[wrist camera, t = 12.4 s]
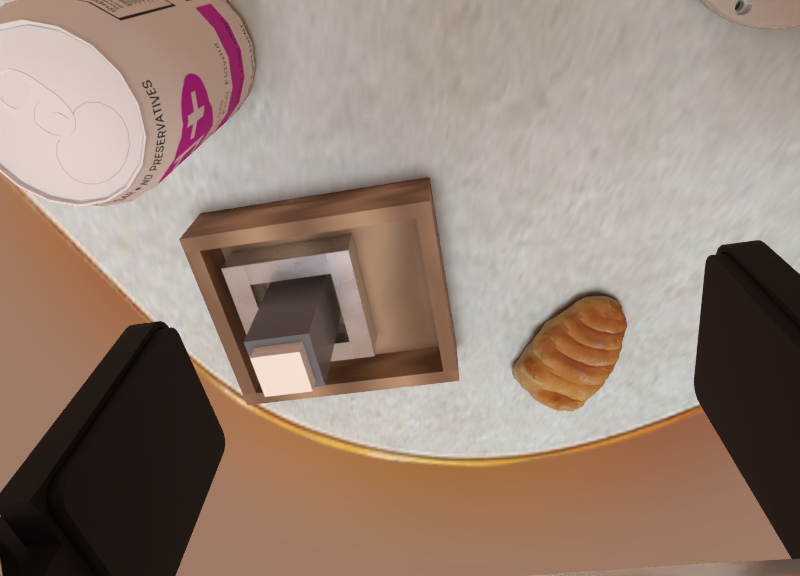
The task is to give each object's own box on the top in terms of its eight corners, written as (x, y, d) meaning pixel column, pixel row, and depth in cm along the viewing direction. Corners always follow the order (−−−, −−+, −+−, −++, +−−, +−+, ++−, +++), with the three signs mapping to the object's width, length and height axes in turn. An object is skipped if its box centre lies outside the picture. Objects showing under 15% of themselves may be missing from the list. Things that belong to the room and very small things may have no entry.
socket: (352, 233, 40) (348, 250, 37) (377, 335, 44) (374, 356, 42) (231, 251, 41) (221, 268, 38) (267, 349, 45) (259, 370, 43)
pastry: (565, 275, 42) (577, 303, 39) (645, 306, 43) (663, 336, 40) (505, 369, 47) (511, 401, 43) (578, 394, 48) (590, 428, 45)
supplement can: (284, 44, 34) (200, 106, 22) (213, 148, 38) (104, 256, 25) (161, -58, 32) (-15, -57, 19) (97, 63, 35) (-89, 133, 23)
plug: (341, 314, 43) (322, 396, 35) (288, 321, 43) (259, 404, 36) (327, 267, 41) (305, 343, 33) (273, 275, 41) (239, 352, 34)
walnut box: (429, 177, 38) (430, 201, 35) (456, 347, 45) (459, 380, 42) (200, 213, 40) (179, 239, 37) (260, 371, 47) (247, 404, 44)
